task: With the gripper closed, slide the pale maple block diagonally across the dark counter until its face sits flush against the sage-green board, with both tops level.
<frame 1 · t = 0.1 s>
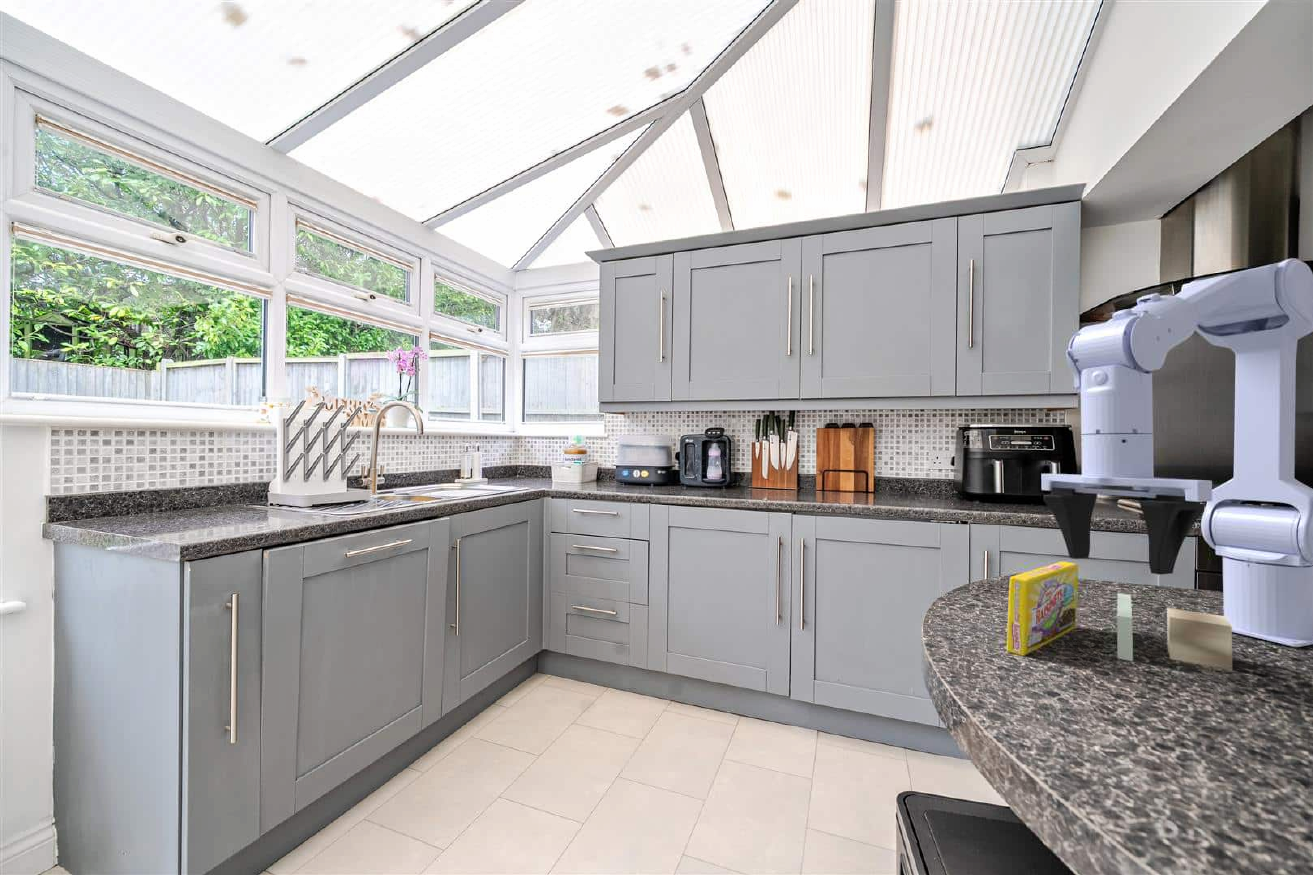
hand: (1117, 565, 56), 10 cm above the countertop, tool pointing down, fingers open, 7 cm apart
maple block: (1198, 659, 57), on the countertop
candy box: (1044, 642, 62), on the countertop
sage board: (1124, 644, 61), on the countertop
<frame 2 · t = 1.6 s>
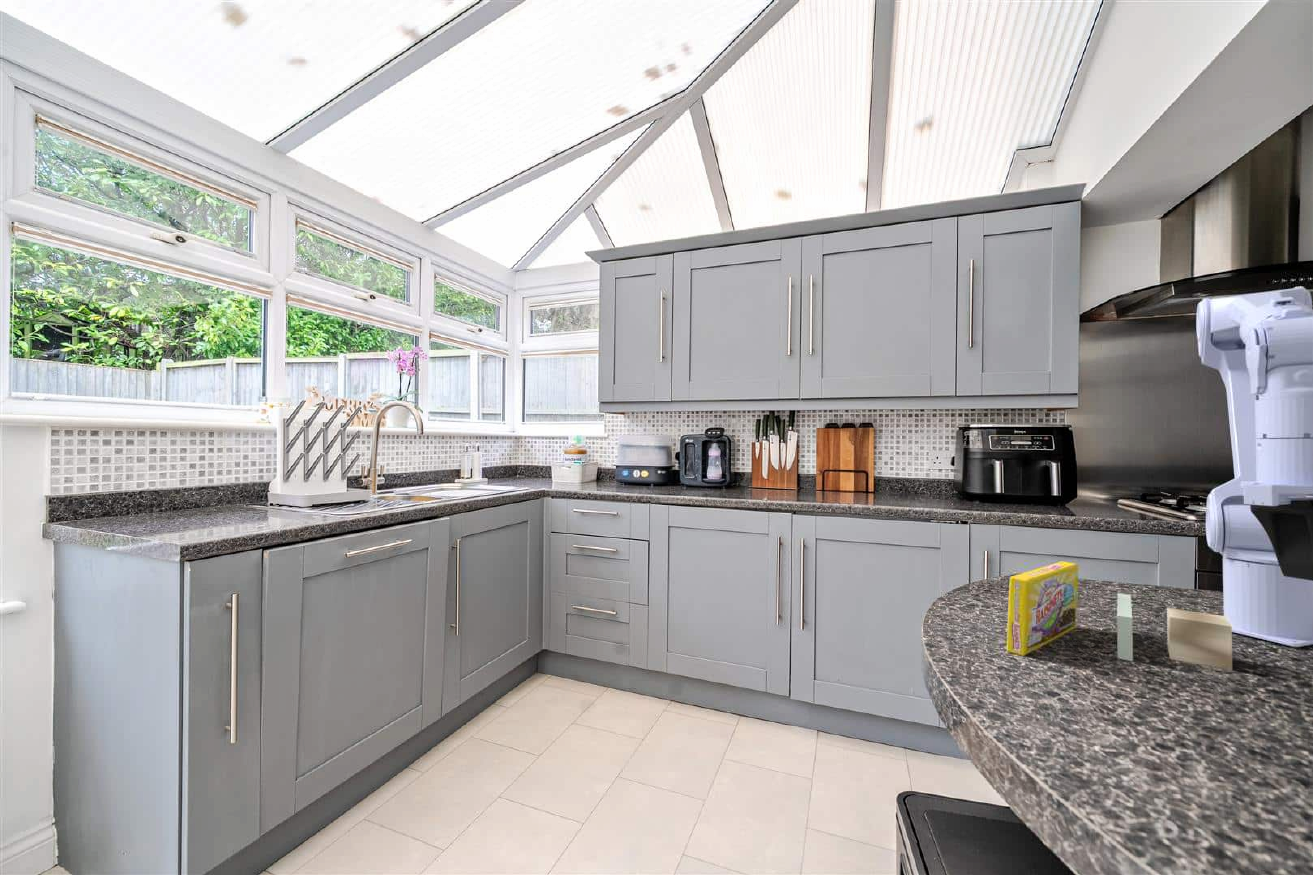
hand: (1301, 578, 52), 10 cm above the countertop, tool pointing down, fingers closed
nothing on the countertop moved.
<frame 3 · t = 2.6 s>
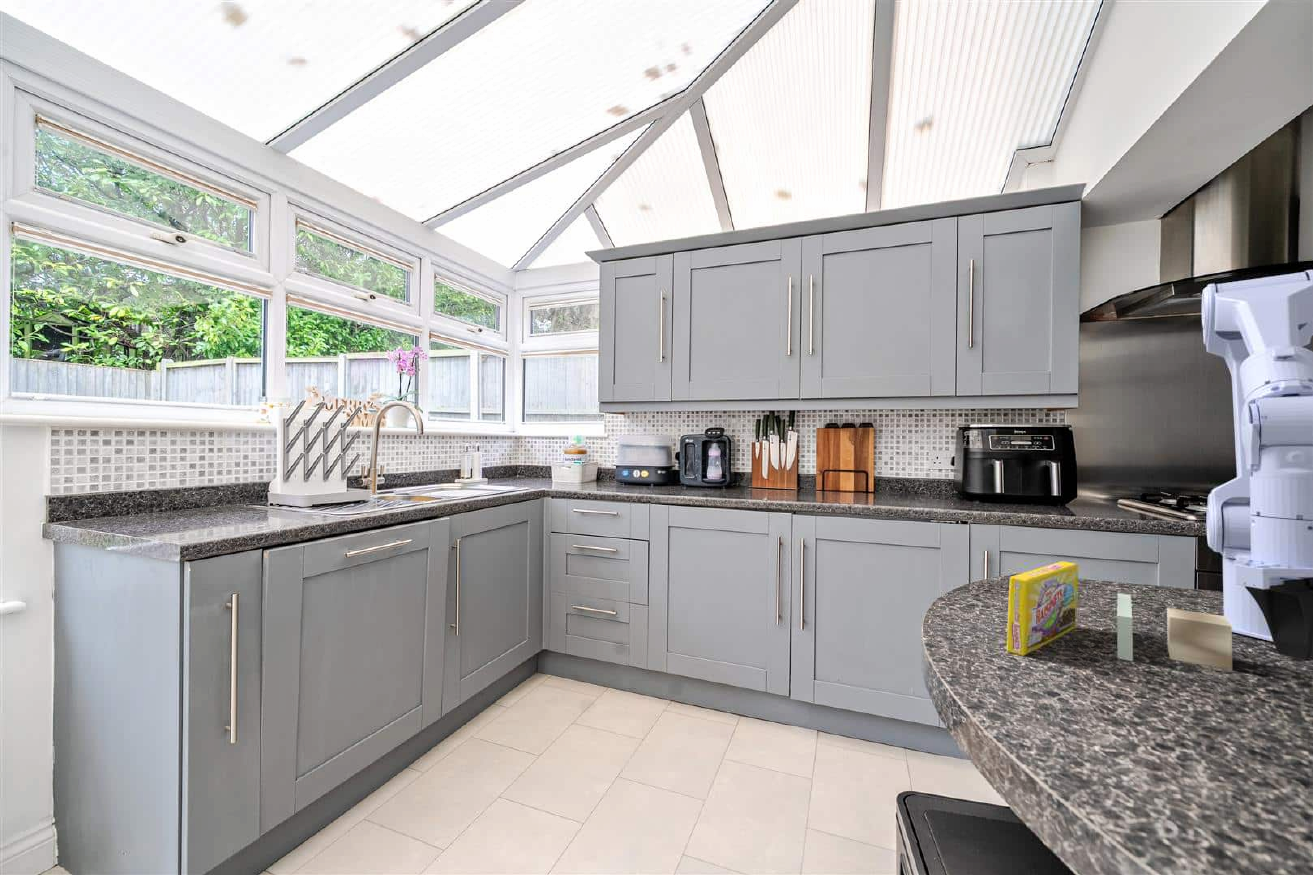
hand: (1296, 656, 52), 2 cm above the countertop, tool pointing down, fingers closed
nothing on the countertop moved.
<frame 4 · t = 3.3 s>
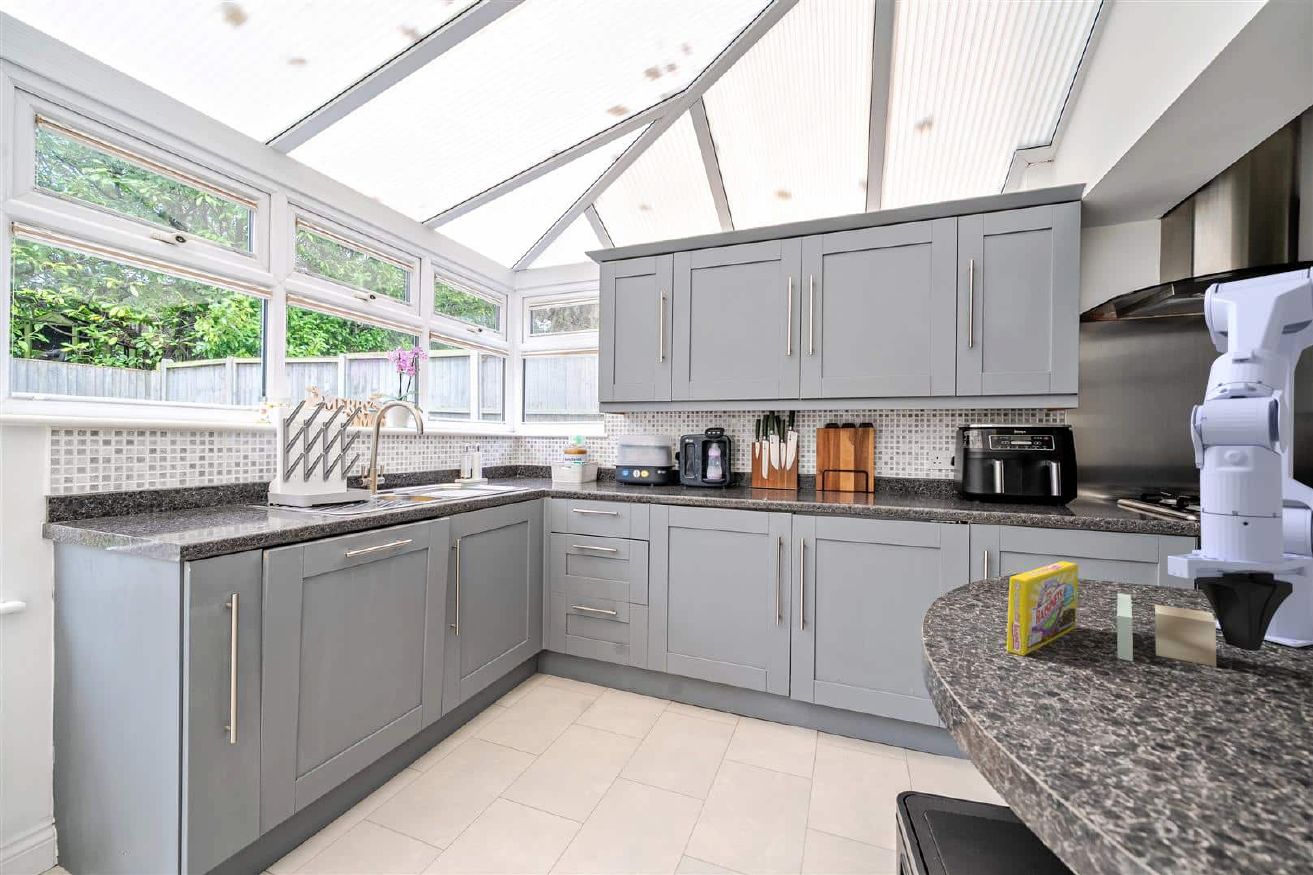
hand: (1242, 647, 55), 2 cm above the countertop, tool pointing down, fingers closed
maple block: (1184, 654, 58), on the countertop, touching gripper
everything else where it was.
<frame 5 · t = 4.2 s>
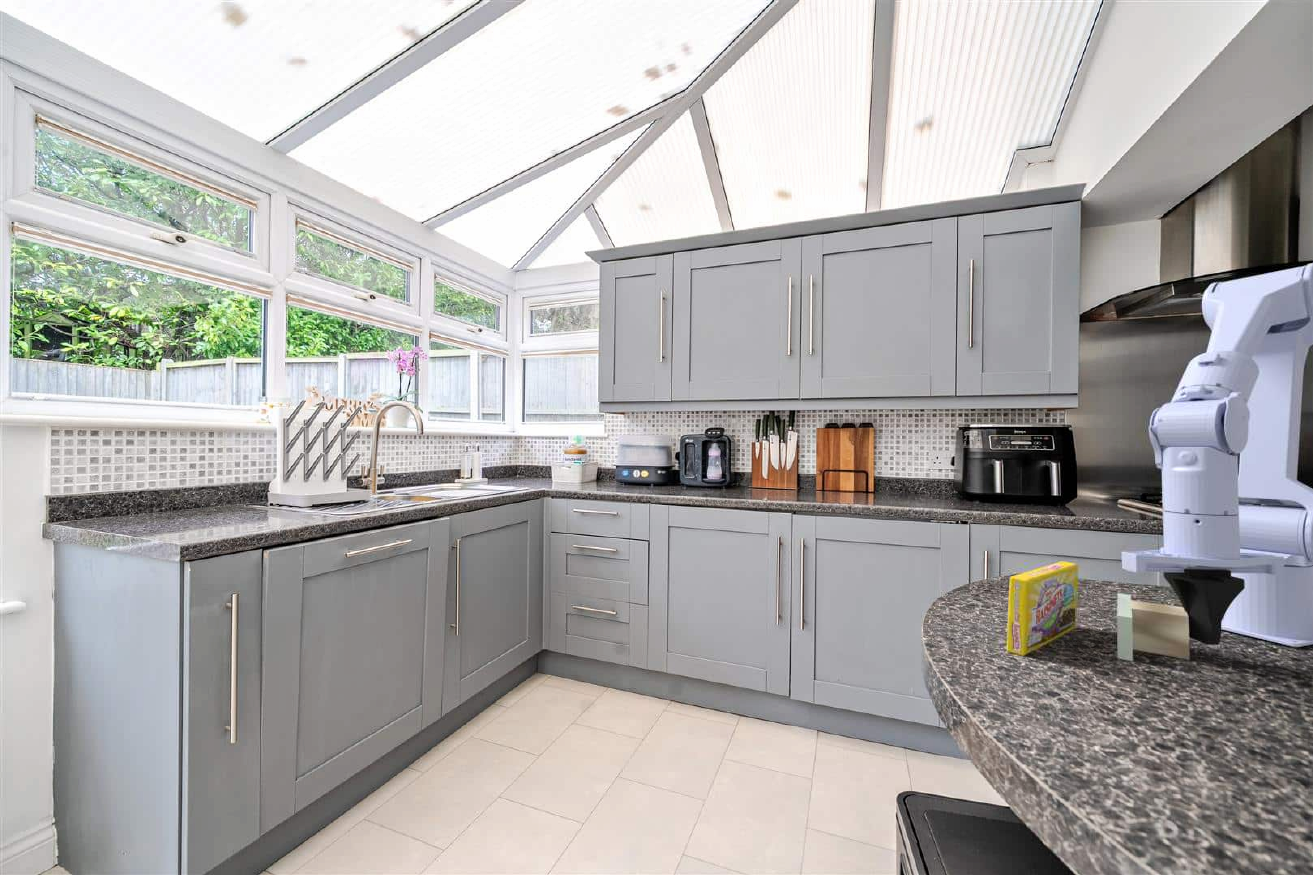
hand: (1203, 641, 57), 2 cm above the countertop, tool pointing down, fingers closed, pressing on maple block
maple block: (1158, 648, 59), on the countertop, touching gripper, sage board
everything else where it was.
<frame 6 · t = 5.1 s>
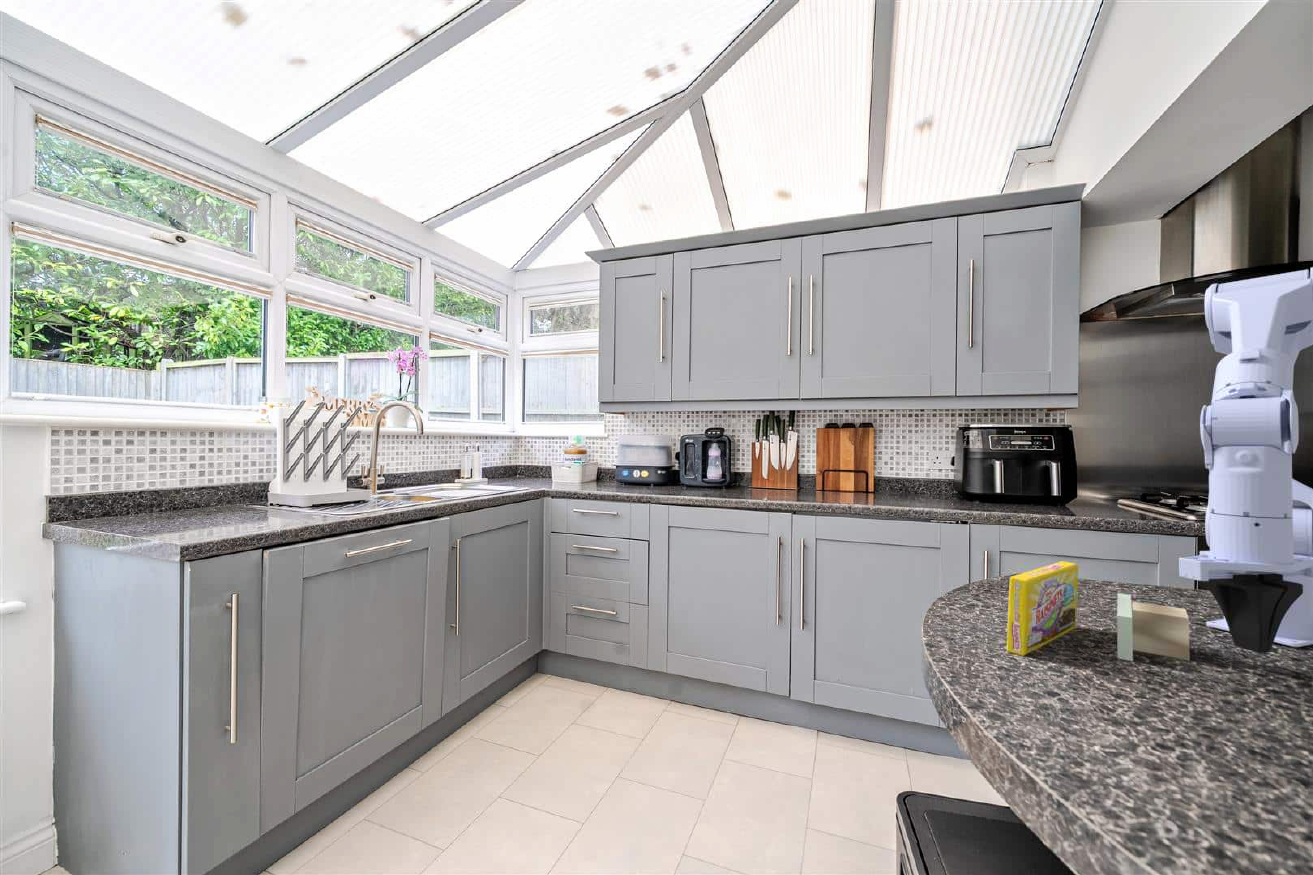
hand: (1251, 649, 54), 2 cm above the countertop, tool pointing down, fingers closed
maple block: (1159, 650, 59), on the countertop
everything else where it was.
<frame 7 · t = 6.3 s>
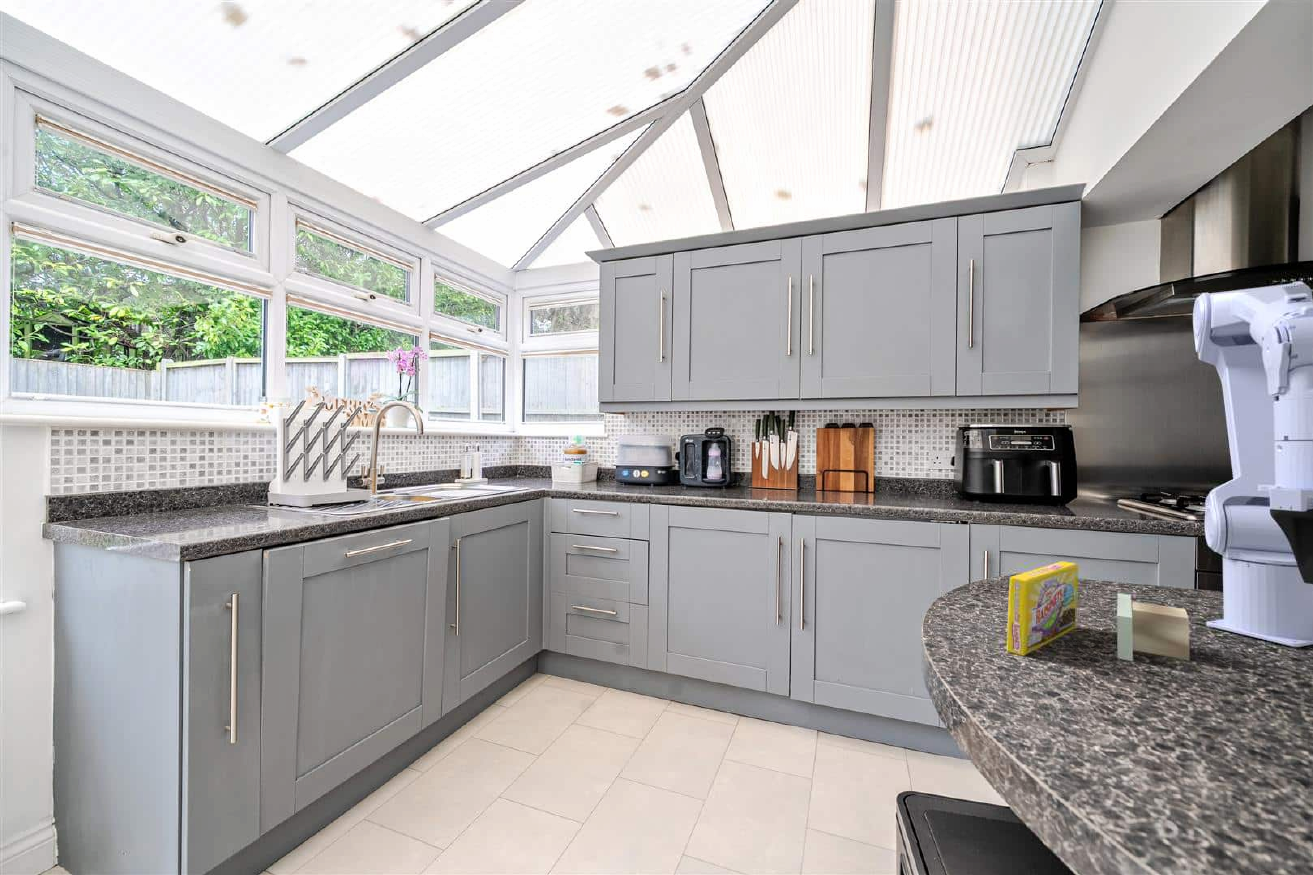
nothing on the countertop moved.
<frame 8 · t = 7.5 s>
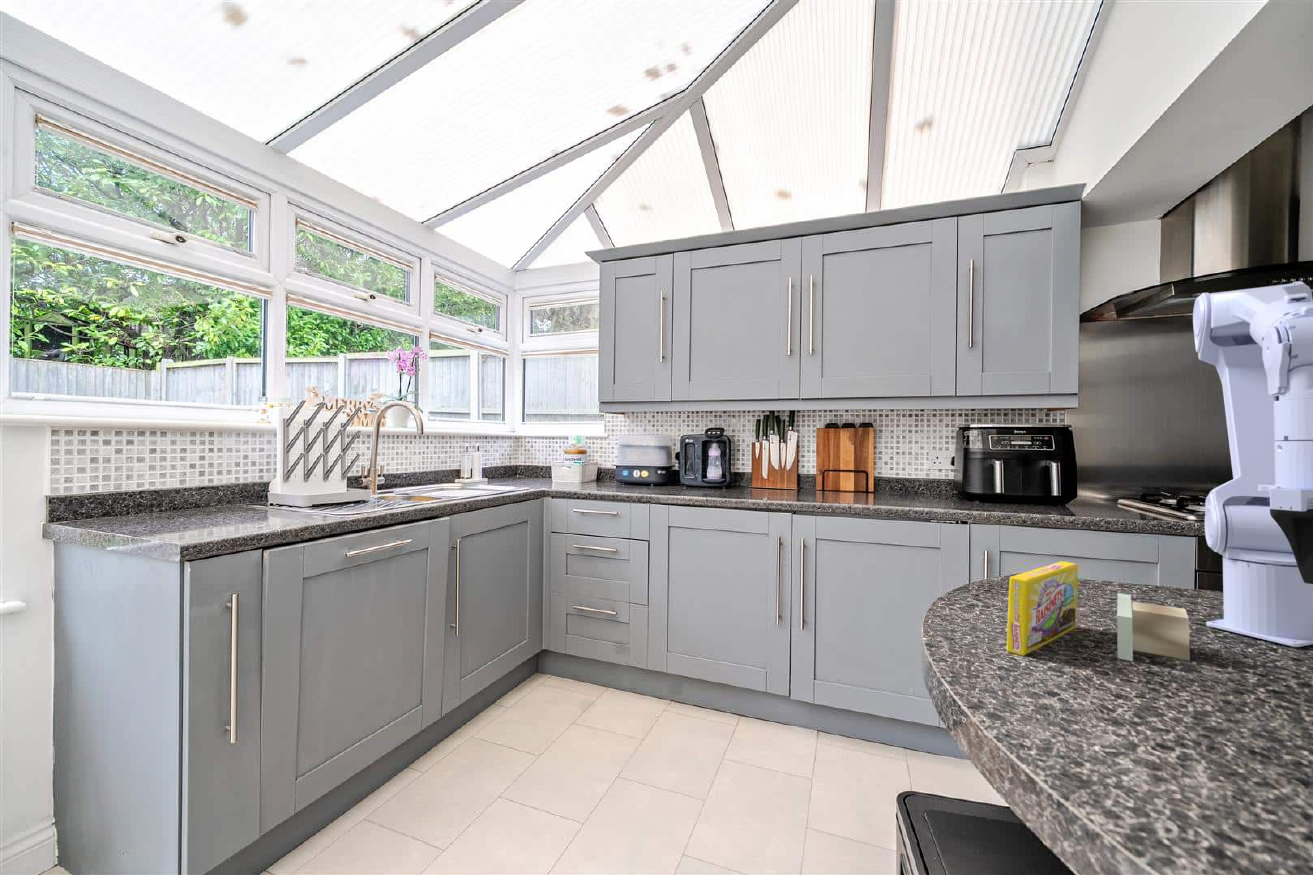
nothing on the countertop moved.
at the end: maple block 0.8 cm from the target spot on the countertop beside the sage board, on the countertop; maple block 3.0 cm from the sage board (horizontally); maple block tilted 0° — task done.
